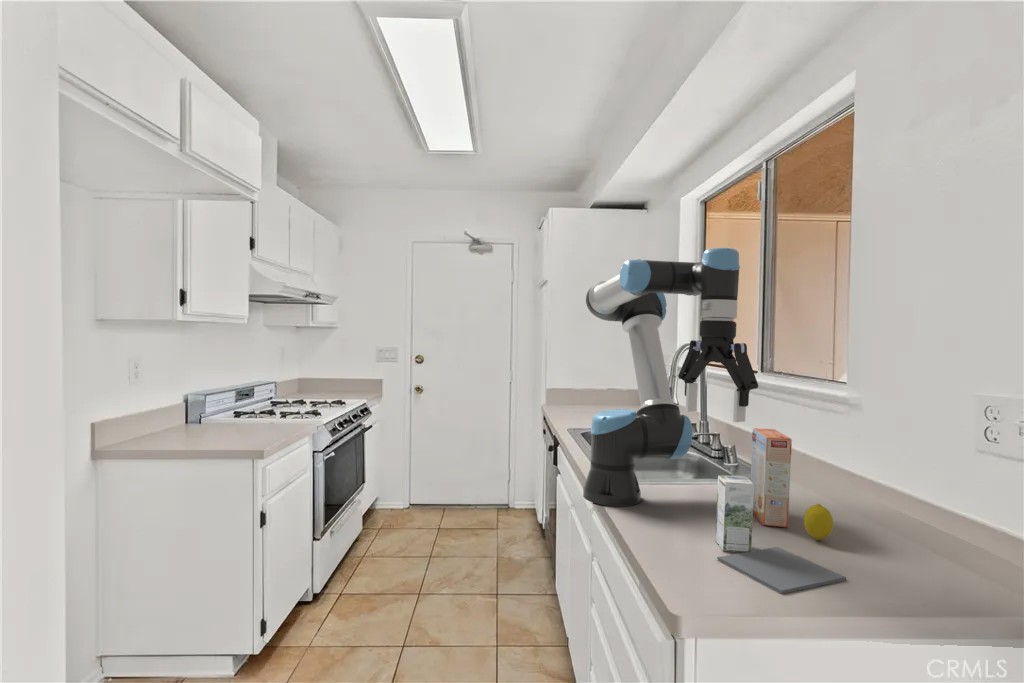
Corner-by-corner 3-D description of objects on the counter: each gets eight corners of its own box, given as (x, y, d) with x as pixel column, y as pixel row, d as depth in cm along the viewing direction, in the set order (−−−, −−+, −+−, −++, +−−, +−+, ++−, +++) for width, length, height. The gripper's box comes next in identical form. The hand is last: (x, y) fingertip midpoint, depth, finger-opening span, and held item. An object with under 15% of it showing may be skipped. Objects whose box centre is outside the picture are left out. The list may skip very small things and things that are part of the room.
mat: (717, 560, 108) (717, 557, 108) (777, 549, 114) (777, 546, 114) (781, 594, 94) (781, 590, 94) (846, 580, 100) (846, 576, 100)
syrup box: (742, 543, 117) (745, 475, 117) (752, 554, 112) (754, 482, 111) (715, 541, 118) (717, 473, 118) (723, 552, 112) (725, 481, 112)
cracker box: (790, 528, 127) (793, 438, 127) (762, 526, 128) (764, 436, 128) (774, 510, 141) (776, 428, 141) (748, 508, 142) (751, 427, 142)
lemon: (802, 534, 124) (804, 498, 124) (831, 538, 121) (832, 502, 121) (803, 542, 119) (804, 505, 119) (833, 547, 116) (834, 509, 116)
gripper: (665, 318, 131) (661, 408, 131) (754, 320, 108) (749, 427, 109) (688, 319, 134) (685, 406, 135) (779, 321, 112) (774, 425, 113)
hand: (713, 416), depth 122 cm, fingers open, 13 cm apart
